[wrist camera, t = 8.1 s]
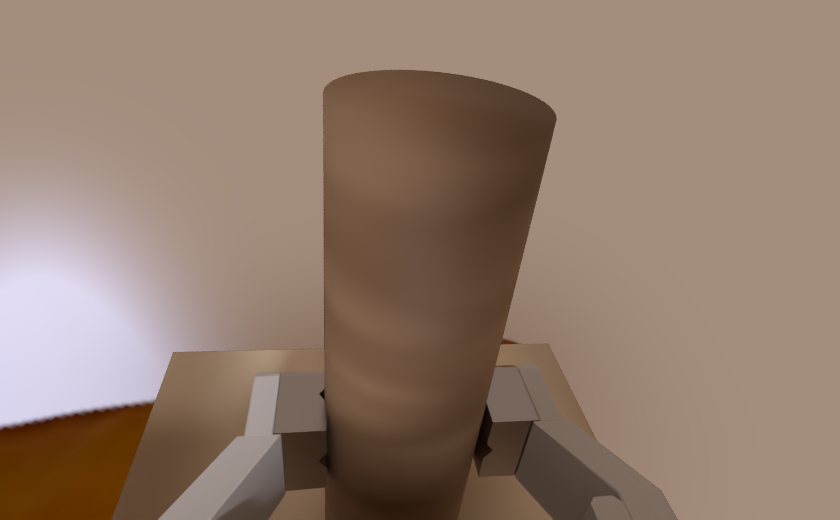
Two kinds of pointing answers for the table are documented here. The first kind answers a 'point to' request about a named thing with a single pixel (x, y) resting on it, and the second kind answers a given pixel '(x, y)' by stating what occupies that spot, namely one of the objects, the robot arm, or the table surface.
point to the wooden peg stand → (390, 311)
